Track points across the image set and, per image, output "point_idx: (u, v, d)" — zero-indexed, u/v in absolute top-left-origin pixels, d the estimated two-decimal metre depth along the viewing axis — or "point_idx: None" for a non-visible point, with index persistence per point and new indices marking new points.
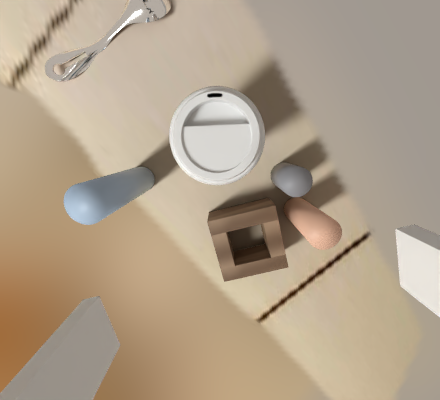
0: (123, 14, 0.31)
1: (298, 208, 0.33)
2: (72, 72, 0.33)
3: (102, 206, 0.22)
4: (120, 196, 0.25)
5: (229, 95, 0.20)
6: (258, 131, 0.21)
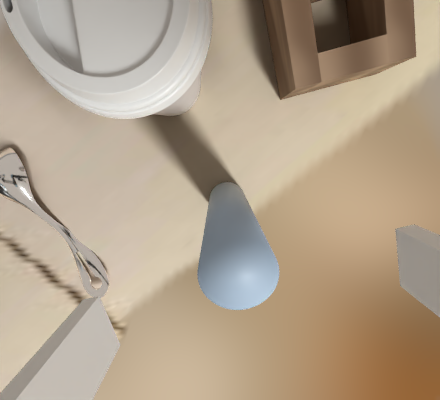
0: (24, 204, 0.25)
1: None
2: (98, 269, 0.28)
3: (243, 244, 0.11)
4: (234, 216, 0.14)
5: None
6: None
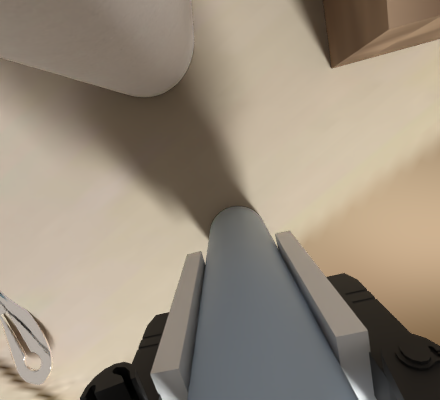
0: None
1: None
2: (36, 341, 0.18)
3: None
4: None
5: None
6: None
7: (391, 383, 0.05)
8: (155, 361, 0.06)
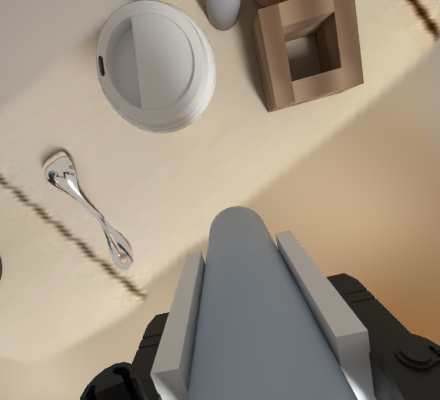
0: (71, 195, 0.33)
1: None
2: (125, 247, 0.36)
3: None
4: None
5: (99, 46, 0.17)
6: (138, 2, 0.16)
7: (391, 383, 0.05)
8: (155, 361, 0.06)
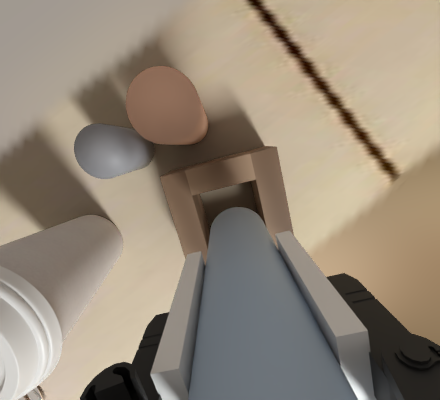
0: None
1: None
2: (35, 397, 0.30)
3: None
4: None
5: None
6: None
7: (391, 383, 0.05)
8: (155, 361, 0.06)
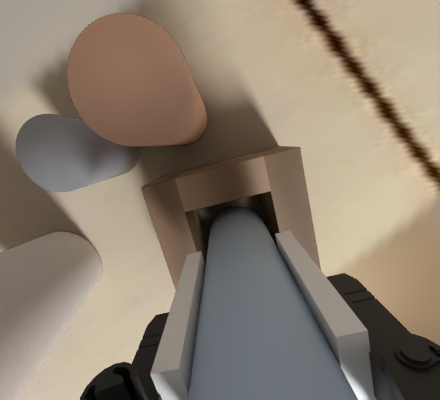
0: None
1: None
2: None
3: None
4: None
5: None
6: None
7: (391, 383, 0.05)
8: (155, 361, 0.06)
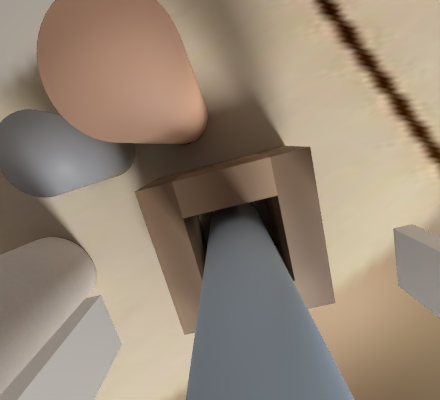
0: None
1: None
2: None
3: None
4: (265, 319, 0.06)
5: None
6: None
7: None
8: None
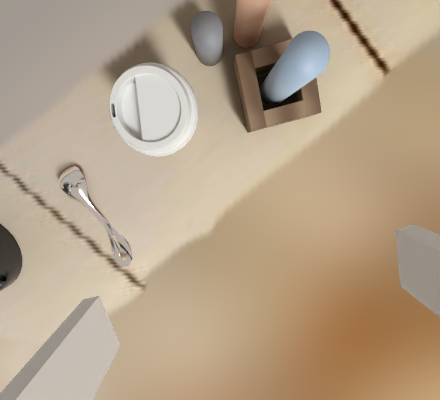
0: (82, 203, 0.40)
1: (239, 25, 0.30)
2: (126, 247, 0.42)
3: (311, 36, 0.21)
4: None
5: (112, 96, 0.23)
6: (140, 66, 0.22)
7: None
8: None
